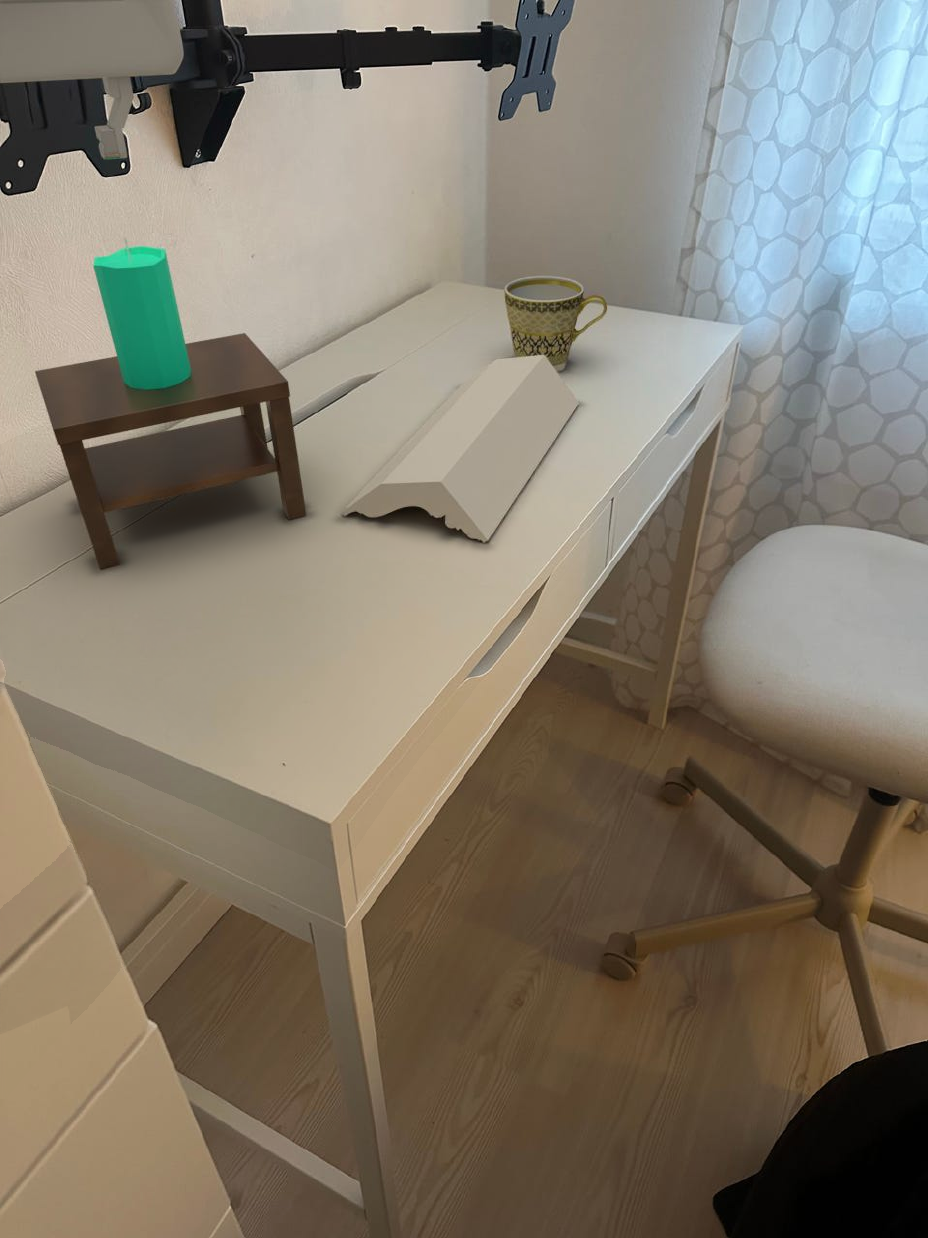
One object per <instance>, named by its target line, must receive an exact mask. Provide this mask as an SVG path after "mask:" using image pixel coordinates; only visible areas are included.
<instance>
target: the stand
mask: <svg viewBox="0 0 928 1238" xmlns="http://www.w3.org/2000/svg"><path fill="white" fill-rule="evenodd" d="M185 345H186V349H187V354H188V359H189V363H190V368H191V374H190V377H189V378H187V379H186V380H184V381H183V382H182V383H179V384H176V385H173V386H169V387H166V388H159V389H148V390H145V389H138V388H131V387H130V386H128V385H127V384H125V383H124V380H123V376H122V373H121V369H120V365H119V361H118V358H117V355H116V356H111V357H105V358H100V359H93V360H88V361H83V362H77V363H72V364H66V365H61V366H55V367H50V368H45V369H38V370H35V371H34V373H35V377H36V380H37V383H38V386H39V390H40V393H41V396H42V399H43V402H44V405H45V408H46V412H47V415H48V418H49V422H50V424H51V427H52V430H53V434H54V436H55V440H56V443H57V446H59V448H60V451H61V454H62V457H63V460H64V463H65V466H66V470H67V472H68V476H69V478H70V482H71V484H72V488H73V491H74V495H75V497H76V501H77V504H78V506H79V509H80V512H81V515H82V519H83V522H84V525H85V528H86V532H87V534H88V537H89V540H90V544H91V546H92V549H93V553H94V555H95V558H96V562H97V565H98V569H100V570H102V569H107V568H110V567H114V566H118V565H120V564H121V562H120V559H119V556H118V553H117V549H116V545H115V543H114V540H113V536H112V534H111V533H112V532H111V530H110V526H109V523H108V520H107V517H106V513H109V512H114V511H118V510H122V509H126V508H131V507H134V506H138V505H143V504H146V503H147V504H148V503H151V502H156V501H160V500H164V499H167V498H171V497H172V498H173V497H176V496H180V495H184V494H188V493H193V492H197V491H201V490H206V489H209V488H214V487H217V486H222V485H226V484H230V483H234V482H239V481H243V480H247V479H251V478H256V477H260V476H264V475H268V474H271V473H276V472H277V473H276V474H277V478H278V485H279V491H280V492H279V493H280V497H281V504H282V510H283V513H284V515H285V516H286V517H287V518H288V520H289V521H290V520H295V519H298V518H304V517H306V516H307V511H306V504H305V497H304V490H303V483H302V477H301V476H302V475H301V469H300V463H299V462H300V461H299V456H298V450H297V442H296V436H295V435H296V434H295V429H294V422H293V414H292V408H291V402H290V401H291V400H290V397H291V391H290V386H289V385H290V384H289V381H288V379H287V378H286V377H285V376H284V375H283V374H282V373H281V372H280V370H279V369H278V368H277V367H276V366H275V365H274V364H273V363H272V362H271V360H269V358H268V357H267V356H266V355H265V354H264V352H263V351H262V350H261V349H260V348H259V347H258V346H257V345H256V344H255V342H253V340H252V339H251V338H250V337H249V336H248V335H247V333H245V332H243V333H237V334H232V335H226V336H222V337H221V336H220V337H215V338H209V339H204V340H199V341H194V342H188V343H187V342H186V343H185ZM261 403H265V406H266V407H265V408H266V413H267V418H268V425H269V430H270V431H269V432H270V436H271V437H270V438H271V442H272V447H273V449H272V450H273V454H272V453H271V451H270V450H269V447H268V442H267V441H268V440H267V436H266V429H265V424H264V418H263V413H262V412H263V411H262V407H261ZM238 408H239V410H240V415H234V416H229V417H226V418H220V419H216V420H211V421H207V422H202V423H198V424H193V425H187V426H184V427H183V426H182V427H178V428H174V429H169V430H165V431H160V432H156V433H155V432H154V433H150V434H145V435H141V436H137V437H132V438H128V439H122V440H118V441H113V442H109V443H103V444H99V445H95V446H90V447H85V445H84V442H83V441H87V440H90V439H95V438H100V437H105V436H110V435H114V434H119V433H123V432H129V431H134V430H138V429H143V428H148V427H153V426H156V425H157V426H158V425H162V424H167V423H173V422H176V421H180V420H186V419H190V418H191V419H192V418H195V417H200V416H205V415H209V414H213V413H215V414H216V413H218V412H223V411H224V412H225V411H228V410H233V409H238ZM273 455H274V456H273Z"/></svg>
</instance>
